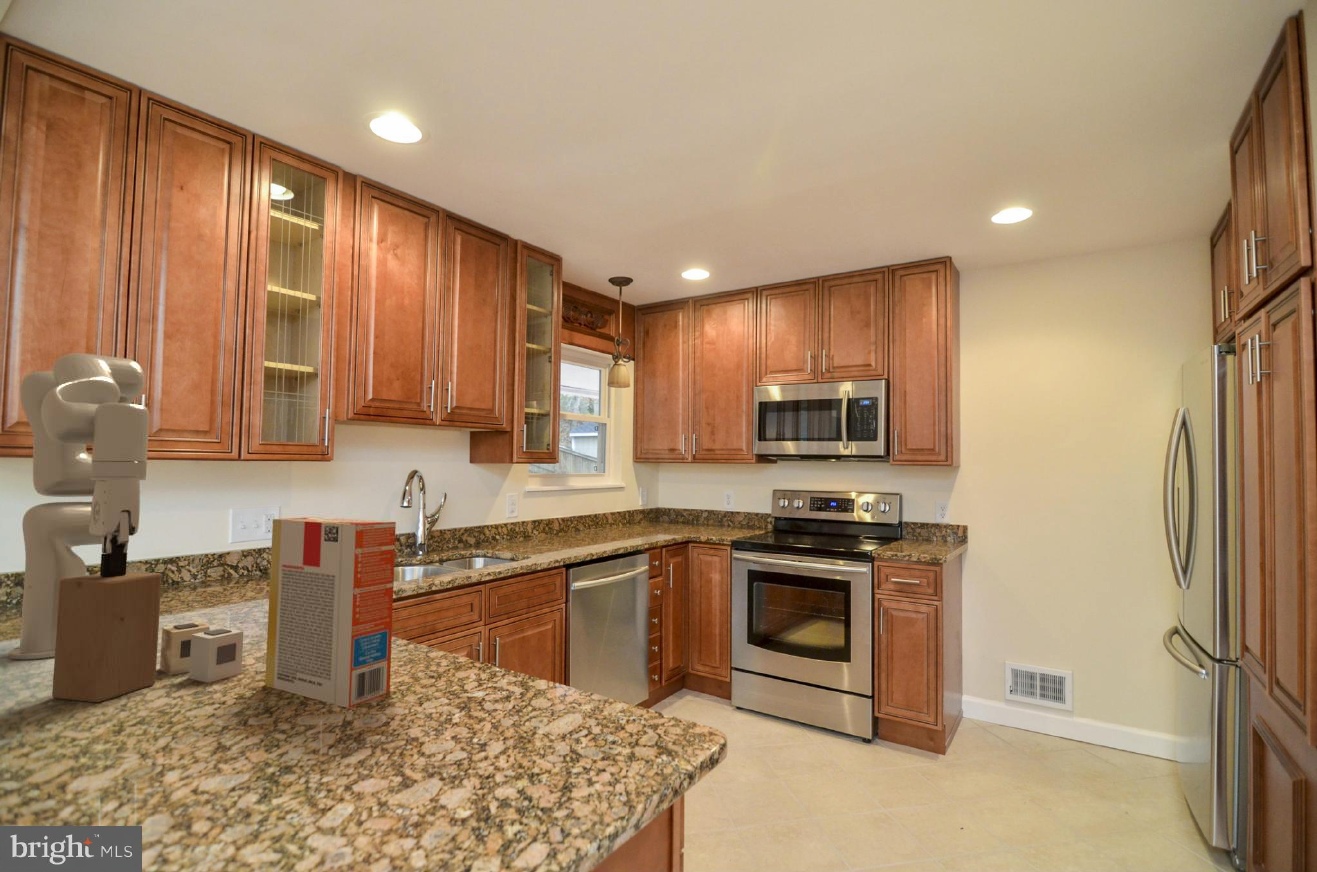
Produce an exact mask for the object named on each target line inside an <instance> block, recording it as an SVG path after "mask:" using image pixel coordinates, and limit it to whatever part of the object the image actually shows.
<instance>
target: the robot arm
mask: <svg viewBox="0 0 1317 872" xmlns="http://www.w3.org/2000/svg"><path fill="white" fill-rule="evenodd" d="M145 378H146V377H145V373H144V370H143V368H142V366H141V365H140V364H139V363H138V362H136V361H134V360H133V359H129V358H126V357H125V358H123V357H116V356H109V355H108V356H107V355H100V354H93V353H83V352H78V353H74V352H73V353H68V354H65V355H63V356H61V357H60V358H58V359H57V360H56V361H55V363H54V364H53V367H52V370H43V371H35V372H31V373H28V374H27V375H25V376H24V378H23V379H22V380H21V383H20V401H21V407H22V409H23V413H24V414H25V415H24V416H25V418H26V420H27V421H28V422H27V423H28V425H29V427H30V429H31V432H32V433H31V434H32V436H33V437H32V438H33V439H32V442H33V443H32V445H33V447H32V449H33V450H32V451H33V452H32V481H33V487H34V491H36V492H37V493H38V494H39V495H41V496H45V497H53V498H54V497H56V498H60V497H61V498H65V497H66V498H68V497H69V498H76V497H78V498H79V497H86V498H87V497H92V501H56V502H55V501H53V502H45V503H40V504H37V505H35V506H32V507H30V508H28V510H26V512H25V513H24V514H23V517H22V523H21V524H22V534H23V535H22V536H23V540H24V541H23V542H24V551H25V564H24V565H25V567H24V568H25V569H24V580H23V581H24V583H23V585H24V586H23V598H22V599H23V600H22V612H21V625H20V639H19V646H18V647H14V648H12V649H10V650H9V651H8V658H10V659H12V660H36V659H37V660H39V659H46V658H55V647H56V633H57V619H58V604H59V590H60V581H61V580H63V579H66V578H74V577H81V576H87V566H86V565H87V564H85V561H84V560H83V559H82V558H81V557H80V556H79V555H78V554H76V552H74V551H73V549H72V548H74V547H80V546H90V545H91V546H93V545H101V554H100V555H101V556H100V570H99V574H100V576H102V577H114V576H124V575H125V574H126V572H127V564H128V547H129V542H130V536H131V537H132V536H134V535H136V534H137V533H138V531H139V524H140V511H141V510H140V509H141V507H140V506H141V505H140V504H141V495H140V494H141V490H140V489H141V487H140V481H147V467H148V463H147V462H148V451H149V450H148V448H149V447H148V446H149V431H150V429H149V428H150V411H149V409H148V408H147V407H146V406H145V405H141V404H137V403H134V401H136V399H138V397H139V396H140V395H141V393H143V389H144V386H145ZM87 445H92V452H91V453H92V454H91V453H88V451H87Z"/></svg>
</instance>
